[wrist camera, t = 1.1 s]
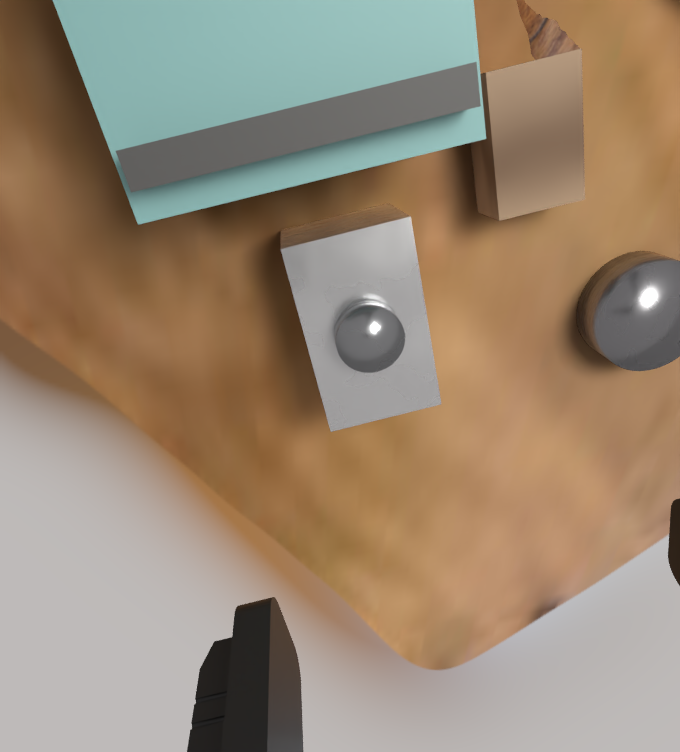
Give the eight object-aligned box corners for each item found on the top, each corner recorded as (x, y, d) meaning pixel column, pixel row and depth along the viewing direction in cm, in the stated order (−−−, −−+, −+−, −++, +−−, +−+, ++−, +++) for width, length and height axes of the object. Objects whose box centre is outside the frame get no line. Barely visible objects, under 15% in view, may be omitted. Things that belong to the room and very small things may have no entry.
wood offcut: (462, 79, 24) (485, 72, 21) (548, 58, 24) (581, 48, 21) (477, 212, 27) (499, 220, 24) (554, 192, 27) (584, 199, 24)
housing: (280, 229, 26) (280, 254, 21) (388, 202, 26) (416, 219, 21) (323, 387, 30) (332, 442, 25) (417, 363, 30) (447, 414, 24)
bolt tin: (573, 265, 28) (598, 277, 26) (681, 238, 28) (716, 247, 26) (576, 364, 31) (599, 382, 29) (676, 339, 31) (706, 355, 29)
